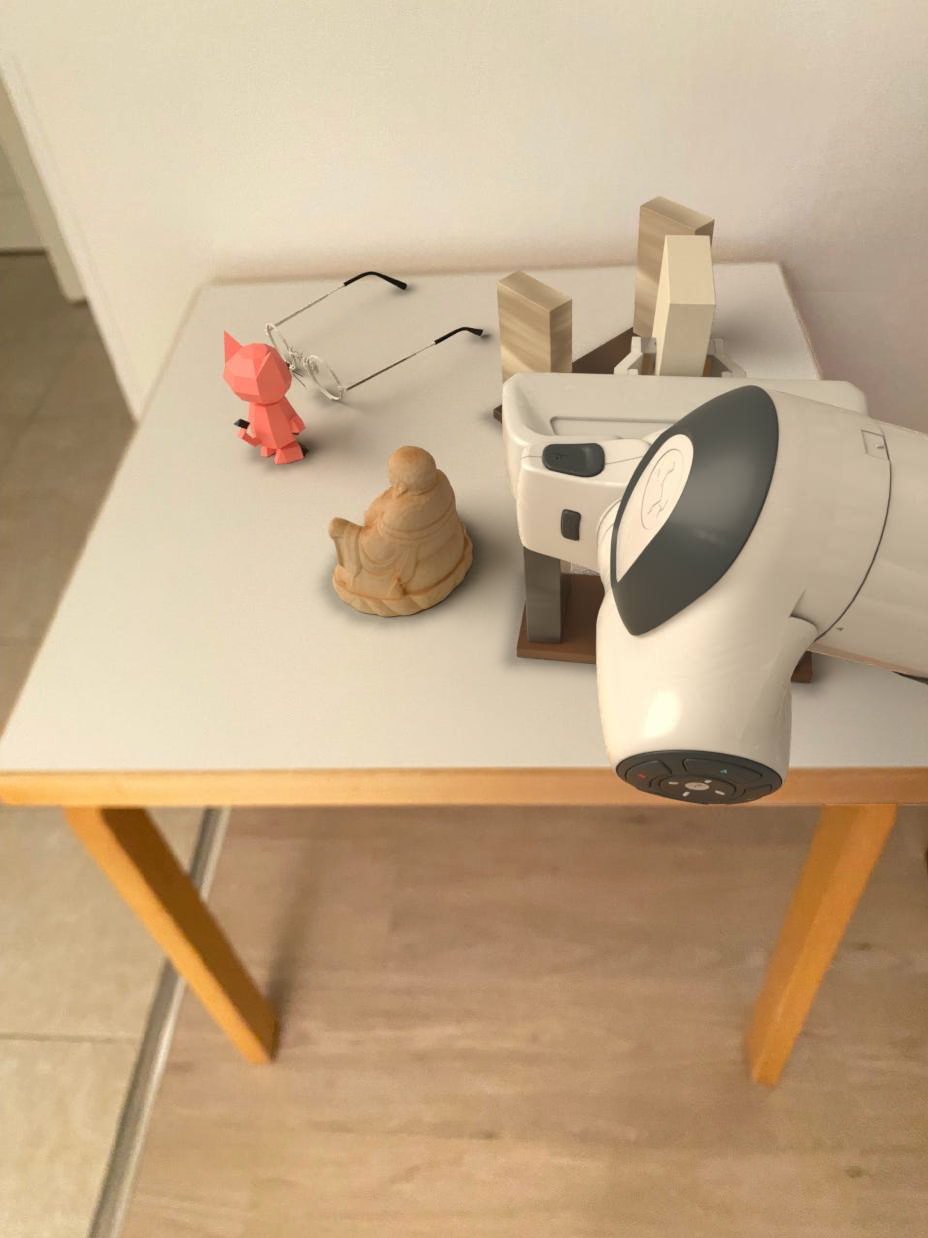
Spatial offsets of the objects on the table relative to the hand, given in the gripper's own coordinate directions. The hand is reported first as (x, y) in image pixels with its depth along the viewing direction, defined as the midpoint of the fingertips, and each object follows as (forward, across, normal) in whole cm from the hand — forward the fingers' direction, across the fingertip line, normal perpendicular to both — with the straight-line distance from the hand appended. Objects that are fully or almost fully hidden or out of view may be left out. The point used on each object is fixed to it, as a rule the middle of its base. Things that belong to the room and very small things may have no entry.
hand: (674, 346), depth 59 cm
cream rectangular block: (-1, 0, +7) cm, 7 cm away
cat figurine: (+15, +33, +25) cm, 44 cm away
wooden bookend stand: (+25, +3, +24) cm, 34 cm away
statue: (+1, +19, +23) cm, 30 cm away
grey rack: (-5, -2, +22) cm, 22 cm away
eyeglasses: (+32, +26, +25) cm, 48 cm away
